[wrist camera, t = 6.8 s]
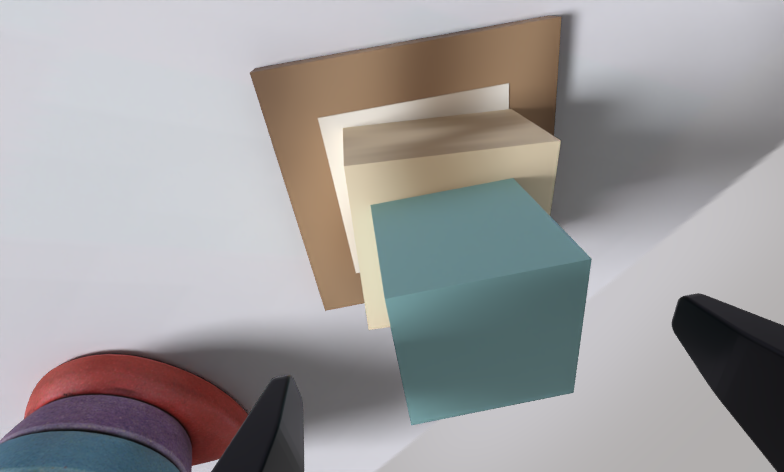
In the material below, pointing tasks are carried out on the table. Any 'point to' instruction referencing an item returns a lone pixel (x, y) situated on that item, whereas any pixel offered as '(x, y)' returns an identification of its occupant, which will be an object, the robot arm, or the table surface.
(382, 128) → the beech block
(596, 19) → the table surface
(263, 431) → the robot arm
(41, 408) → the stacking bear
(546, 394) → the teal block
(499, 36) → the walnut board
